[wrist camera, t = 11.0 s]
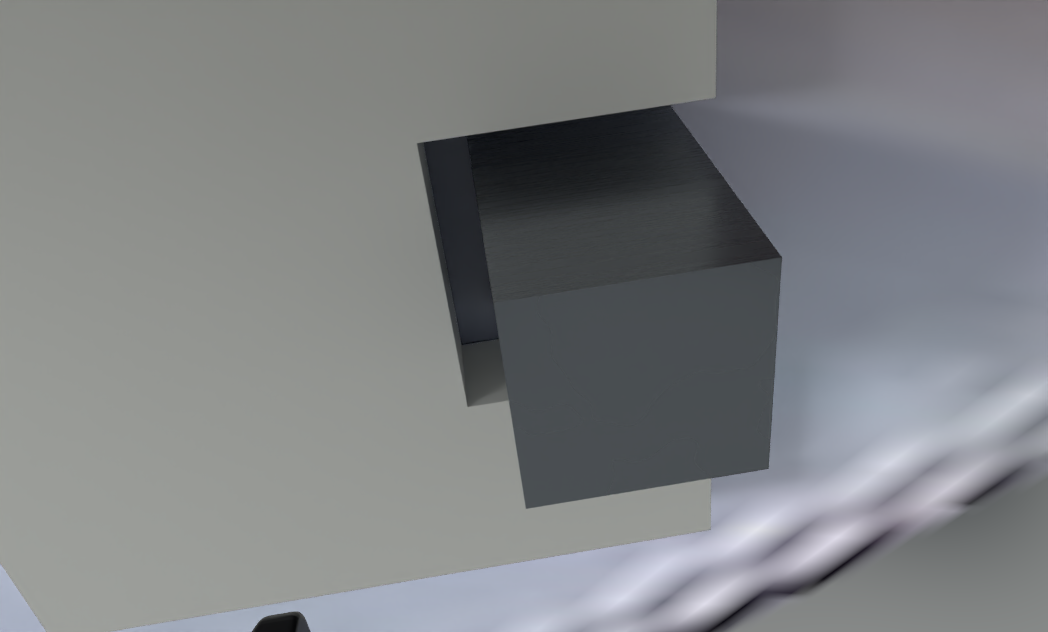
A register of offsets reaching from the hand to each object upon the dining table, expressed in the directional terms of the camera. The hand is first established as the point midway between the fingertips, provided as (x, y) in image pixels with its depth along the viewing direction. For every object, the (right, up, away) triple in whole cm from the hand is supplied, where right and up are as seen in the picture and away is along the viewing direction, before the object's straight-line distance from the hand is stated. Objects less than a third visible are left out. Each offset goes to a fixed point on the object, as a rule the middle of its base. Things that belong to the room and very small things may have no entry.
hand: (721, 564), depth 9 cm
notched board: (-6, +4, +7) cm, 10 cm away
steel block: (-1, +5, +7) cm, 9 cm away
